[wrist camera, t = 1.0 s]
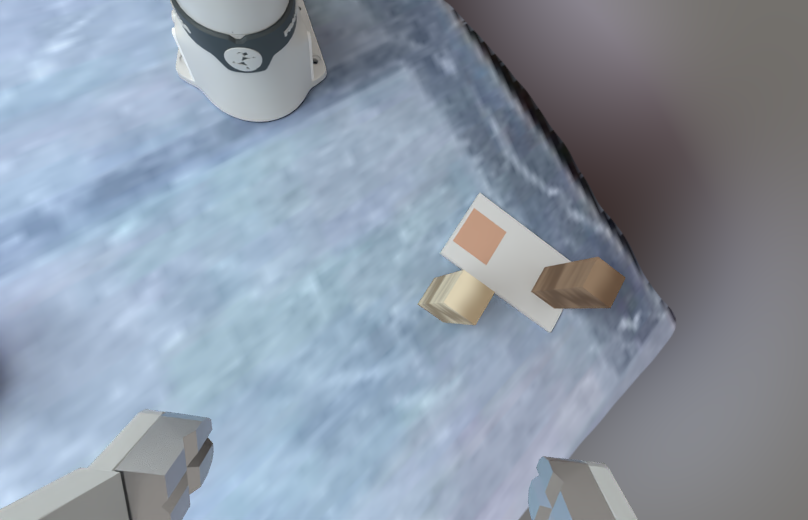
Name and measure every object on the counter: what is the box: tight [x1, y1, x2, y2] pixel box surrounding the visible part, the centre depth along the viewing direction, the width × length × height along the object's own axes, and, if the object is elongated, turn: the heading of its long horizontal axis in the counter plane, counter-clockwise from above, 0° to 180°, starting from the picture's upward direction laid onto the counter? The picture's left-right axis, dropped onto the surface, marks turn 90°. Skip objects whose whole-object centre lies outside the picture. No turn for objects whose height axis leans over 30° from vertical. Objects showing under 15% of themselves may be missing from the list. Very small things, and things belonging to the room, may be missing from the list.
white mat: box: [439, 193, 571, 333], centre depth 55 cm, size 20×11×1 cm, turn 56°
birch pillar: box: [418, 270, 495, 325], centre depth 47 cm, size 4×4×11 cm
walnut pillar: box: [531, 257, 625, 309], centre depth 50 cm, size 4×4×11 cm
